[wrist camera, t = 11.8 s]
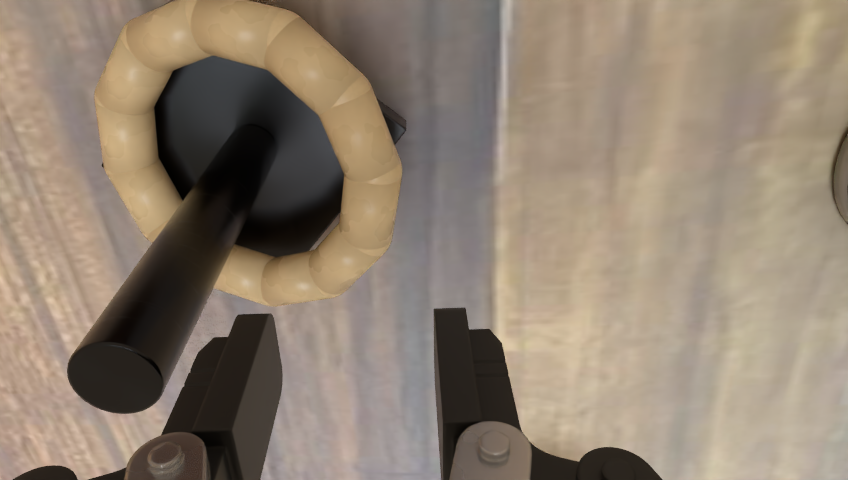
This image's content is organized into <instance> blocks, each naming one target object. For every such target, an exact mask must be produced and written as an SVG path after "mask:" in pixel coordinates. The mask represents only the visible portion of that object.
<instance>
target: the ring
mask: <svg viewBox="0 0 848 480" xmlns="http://www.w3.org/2000/svg"><path fill="white" fill-rule="evenodd" d="M210 56H217V57H221V58H224V59H228V60H232V61H236V62H239V63H243V64H247V65H251V66H254V67H258V68H262V69H266V70H268V71H269V72H270V73H271V74H273V75H274V76H275V77H276V78H277V79H278V80H279V81H280V82H282V83H283V84H284V85H285V86H286V87H287V88H288V89H289V90H290V91H292V92H293V93H294V94H295V95H296V96H297V97H298V98H299V99H300V100H302V101H303V102H304V103H305V104H306V105H307V106H308V107H309V108H311V109H312V110H313V111H314V112H315V113H316V114H317V115H318V116H319V118H320V120H321V122H322V125H323V127H324V129H325V131H326V134H327V136H328V138H329V141H330V143H331V145H332V148H333V150H334V152H335V155H336V157H337V159H338V161H339V164H340V166H341V168H342V171H343V173H344V182H343V193H342V203H341V213H340V223H339V224H338V225H337V226H336V227H335V228H334V229H333V230H332V231H331V232H330V234H329V235H328V236H327V237H326V238H325V239H324V240H323V241H322V242H321V243H320V245H319V246H318V247H317V248H316V249H315V250H311V251H306V252H301V253H296V254H290V255H285V256H280V257H273V256H270V255H267V254H264V253H261V252H257V251H254V250H251V249H248V248H245V247H242V246H238V245H235V244H234V246H233V248H232V250H231V252H230V255H229V257H228V259H227V261H226V263H225V265H224V267H223V269H222V271H221V273H220V275H219V277H218V279H217V281H216V284H215V286H214V288H215V289H218V290H221V291H224V292H227V293H230V294H233V295H236V296H239V297H242V298H245V299H248V300H251V301H254V302H257V303H260V304H263V305H266V306H282V305H289V304H295V303H302V302H309V301H315V300H322V299H328V298H334V297H337V296H339V295H341V294H343V293H344V292H345V291H346V290H347V289H348V288H349V287H350V286H351V285H352V284H353V283H354V282H355V281H356V280H357V279H359V278H360V277H361V276H362V275H363V274H364V273H365V272H366V271H367V270H368V269H369V268H370V267H371V266H372V265H373V264H374V263H375V262H376V261H377V260H378V259H379V258H380V257H381V256H382V255H383V254H384V253H385V252H386V251H387V250H388V248H389V246H390V244H391V241H392V236H393V230H394V224H395V217H396V211H397V204H398V198H399V191H400V185H401V178H402V164H401V160H400V158H399V155H398V153H397V150H396V148H395V145H394V142H393V140H392V137H391V135H390V132H389V130H388V127H387V124H386V122H385V119H384V117H383V114H382V112H381V109H380V107H379V104H378V101H377V99H376V96H375V94H374V91H373V89H372V86H371V84H370V82H369V81H368V79H367V78H366V77H365V76H364V75H363V74H362V73H361V72H360V71H359V70H358V69H357V68H356V67H354V66H353V65H352V64H351V63H350V62H349V61H348V60H347V59H346V58H345V57H344V56H342V55H341V54H340V53H339V52H338V51H337V50H336V49H335V48H334V47H333V46H332V45H331V44H329V43H328V42H327V41H326V40H325V39H324V38H323V37H322V36H321V35H320V34H319V33H317V32H316V31H315V30H314V29H313V28H312V27H311V26H310V25H309V24H308V23H307V22H305V21H304V20H303V19H302V18H301V17H300V16H299V15H297V14H296V13H294V12H292V11H289V10H286V9H282V8H278V7H274V6H270V5H266V4H262V3H258V2H254V1H250V0H175V1H173V2H170V3H168V4H166V5H164V6H161V7H159V8H157V9H155V10H152V11H150V12H148V13H145V14H143V15H141V16H139V17H136V18H134V19H132V20H130V21H129V22H128V23H127V24H126V25H125V26H124V27H123V29H122V31H121V33H120V35H119V37H118V40H117V42H116V44H115V46H114V48H113V51H112V53H111V55H110V57H109V60H108V62H107V64H106V66H105V68H104V71H103V73H102V75H101V77H100V80H99V82H98V84H97V86H96V89H95V93H94V100H95V107H96V114H97V121H98V128H99V136H100V143H101V150H102V157H103V164H104V169H105V171H106V173H107V175H108V177H109V178H110V180H111V182H112V183H113V185H114V187H115V188H116V190H117V192H118V193H119V195H120V197H121V198H122V200H123V202H124V203H125V205H126V207H127V208H128V210H129V212H130V213H131V215H132V217H133V218H134V220H135V222H136V223H137V225H138V227H139V228H140V230H141V232H142V233H143V235H144V236H145V237H146V238H147V239H148V240H149V241H150V242H152V243H153V242H154V240H155V239H156V238H157V236H158V235H159V233H160V232H161V231H162V229H163V228H164V227H165V225H166V224H167V222H168V221H169V220H170V218H171V217H172V215H173V214H174V213H175V211H176V210H177V208H178V207H179V206H180V204H181V203H182V201H183V200H182V199H181V197H180V195H179V193H178V191H177V190H176V188H175V186H174V184H173V182H172V181H171V179H170V177H169V175H168V173H167V172H166V170H165V168H164V166H163V164H162V163H161V161H160V159H159V157H158V147H157V135H156V124H155V112H154V106H155V104H156V102H157V100H158V98H159V97H160V95H161V93H162V91H163V89H164V87H165V85H166V84H167V82H168V80H169V78H170V76H171V74H172V72H173V70H176V69H178V68H181V67H183V66H186V65H189V64H191V63H194V62H197V61H199V60H202V59H205V58H207V57H210Z"/></svg>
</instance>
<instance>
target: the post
mask: <svg viewBox="0 0 848 480" xmlns="http://www.w3.org/2000/svg"><path fill="white" fill-rule="evenodd" d="M376 99H377V98H376ZM377 101H378V104H379V107H380V109H381V112H382V114H383V117H384V119H385V122H386V124H387V127H388V130H389V132H390V135H391V137H392V140H393V142H394V145H395V144H396V143H397V141H398V140H399V139H400V138H401V136H402V135H403V134H404V133H405V131H406V120H405V119H403V118H402V117H401V116H399V115H398V114H397V113H395V112H394V111H393V110H391V109H390V108H389V107H387V106H386V105H385V104H383V103H382V102H381V101H379V100H378V99H377ZM154 112H155V124H156V135H157V147H158V157H159V159H160V161H161V163H162V164H163V166H164V168H165V170H166V172H167V173H168V175H169V177H170V179H171V181H172V182H173V184H174V186H175V188H176V190H177V191H178V193H179V195H180V197H181V199H182V200H183V201H182V203H181V204H180V206H179V207H178V208H177V210H176V211H175V213H174V214H173V215H172V217H171V218H170V220H169V221H168V222H167V224H166V225H165V227H164V228H163V229H162V231H161V232H160V233H159V235H158V236H157V238H156V239H155V240H154V242H153V243H152V245H151V246H150V247H149V249H148V250H147V252H146V253H145V254H144V256H143V257H142V258H141V260H140V261H139V263H138V264H137V265H136V267H135V268H134V270H133V271H132V272H131V274H130V275H129V277H128V278H127V279H126V281H125V282H124V284H123V285H122V286H121V288H120V289H119V290H118V292H117V293H116V295H115V296H114V297H113V299H112V300H111V302H110V303H109V304H108V306H107V307H106V309H105V310H104V311H103V313H102V314H101V315H100V317H99V318H98V320H97V321H96V322H95V324H94V325H93V327H92V328H91V329H90V331H89V332H88V334H87V335H86V336H85V338H84V339H83V341H82V342H81V343H80V345H79V346H78V347H77V349H76V350H75V352H74V353H73V354H72V356H71V358H70V359H69V362H68V368H67V374H68V379H69V382H70V384H71V386H72V388H73V389H74V391H75V392H76V393H77V394H78V395H79V396H80V397H81V398H82V399H83V400H84V401H86V402H87V403H89V404H90V405H92V406H94V407H96V408H99V409H101V410H104V411H108V412H112V413H119V414H129V413H136V412H140V411H143V410H145V409H147V408H149V407H151V406H152V405H153V404H155V403H156V402H157V401H158V400H159V399H160V397H161V395H162V393H163V391H164V389H165V387H166V385H167V383H168V381H169V379H170V377H171V375H172V373H173V371H174V369H175V366H176V364H177V362H178V360H179V358H180V356H181V354H182V352H183V350H184V348H185V346H186V344H187V342H188V340H189V337H190V335H191V333H192V331H193V329H194V327H195V325H196V323H197V321H198V319H199V317H200V315H201V313H202V310H203V308H204V306H205V304H206V302H207V300H208V298H209V296H210V294H211V292H212V290H213V288H214V286H215V284H216V281H217V279H218V277H219V275H220V273H221V271H222V269H223V267H224V265H225V263H226V261H227V259H228V257H229V255H230V252H231V250H232V248H233V246H234V244H235V245H238V246H242V247H245V248H248V249H251V250H254V251H257V252H261V253H264V254H267V255H270V256H273V257H280V256H285V255H290V254H296V253H301V252H306V251H309V250H310V249H311V247H312V246H313V245H314V244H315V242H316V241H317V240H318V239H319V238H320V236H321V235H322V234H323V233H324V231H325V230H326V229H327V228H328V226H329V225H330V224H331V223H332V222H333V220H334V219H335V218H336V217H337V215H338V214H339V213H340V212H341V203H342V193H343V182H344V173H343V171H342V168H341V166H340V164H339V161H338V159H337V157H336V155H335V152H334V150H333V148H332V145H331V143H330V141H329V138H328V136H327V134H326V131H325V129H324V127H323V125H322V122H321V120H320V118H319V116H318V115H317V114H316V113H315V112H314V111H313V110H312V109H311V108H309V107H308V106H307V105H306V104H305V103H304V102H303V101H302V100H300V99H299V98H298V97H297V96H296V95H295V94H294V93H293V92H292V91H290V90H289V89H288V88H287V87H286V86H285V85H284V84H283V83H282V82H280V81H279V80H278V79H277V78H276V77H275V76H274V75H273V74H271V73H270V72H269V71H268V70H266V69H262V68H258V67H254V66H251V65H247V64H243V63H239V62H236V61H232V60H228V59H224V58H221V57H217V56H210V57H207V58H205V59H202V60H199V61H197V62H194V63H191V64H189V65H186V66H183V67H181V68H178V69H176V70H173V72H172V74H171V76H170V78H169V80H168V82H167V84H166V85H165V87H164V89H163V91H162V93H161V95H160V97H159V98H158V100H157V102H156V104H155V106H154ZM102 167H104V164H103V163H102Z"/></svg>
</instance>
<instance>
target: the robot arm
mask: <svg viewBox="0 0 848 480" xmlns="http://www.w3.org/2000/svg"><path fill="white" fill-rule="evenodd" d="M834 195H835V200H836V204H837V207H838V209H839V211H840V213H841V215H842V217H843V218H844V220H845V221H846V222H847V224H848V134H847V136H846V138H845V140H844V142H843V144H842V147H841V150H840V152H839V155H838V158H837V162H836V166H835V172H834ZM434 369H435V391H436V406H437V421H438V437H439V452H440V467H441V480H662V479H661V478H660V476H659V475H658V474H657V473H656V472H655V471H654V470H653V469H652V468H651V466H650V465H649V464H648V463H646V462H645V461H644V460H643V459H642V458H640V457H639V456H637V455H635V454H633V453H631V452H629V451H626V450H623V449H619V448H613V447H604V448H598V449H594V450H592V451H590V452H588V453H587V454H585V455H584V456H583V457H582V458H581V460H580V462H577V461H573V460H568V459H564V458H560V457H556V456H553V455H550V454H547V453H545V452H543V451H541V450H540V449H538V448H536V447H535V446H534V445H532V444H531V443H530V442H529V440H528V439H527V437H526V436H525V435H524V434H523V432H522V430H521V428H520V424H519V420H518V415H517V411H516V406H515V402H514V397H513V393H512V388H511V383H510V379H509V376H508V370H507V365H506V363H505V356H504V352H503V347H502V343H501V342H500V341H499V340H498V338H497V337H496V336H495V335H494V334H493V333H492V332H491V330H490V329H474V330H469V328H468V321H467V314H466V309H465V308H442V309H434ZM184 384H185V386H184V387H183V388H182V390H181V392H180V394H179V397H178V399H177V401H176V403H175V406H174V408H173V410H172V412H171V414H170V417H169V419H168V421H167V423H166V426H165V428H164V430H163V432H162V435H161V436H159V437H156V438H154V439H152V440H150V441H148V442H147V443H145V444H144V445H143V446H141V447H140V448H139V449H138V450H137V451H136V452H135V453H134V454H133V456H132V457H131V458H130V460H129V462H128V464H127V467H126V468H124V469H122V470H119V471H116V472H113V473H110V474H106V475H103V476H99V477H96V478H92V479H89V480H260V478H261V473H262V469H263V465H264V461H265V457H266V453H267V449H268V445H269V441H270V437H271V433H272V428H273V424H274V420H275V416H276V412H277V408H278V404H279V400H280V396H281V390H282V365H281V359H280V352H279V346H278V340H277V334H276V328H275V322H274V318H273V315H272V314H242V315H237V317H236V319H235V321H234V324H233V326H232V329H231V332H230V334H229V337H215V338H213V339H212V340H211V341H210V342H209V343H208V344H207V345H206V346H205V347H204V348H203V349H202V350H200V351H199V352H198V354H197V356H196V359H195V361H194V363H193V365H192V368H191V373H189V374H188V376H187V379H186V381H185V383H184ZM13 480H78V479H77V477H76V475H75V474H74V472H73V471H71V470H70V469H68V468H66V467H63V466H45V467H40V468H37V469H33V470H31V471H28V472H26V473H24V474H22V475H20V476H18V477H16V478H15V479H13Z"/></svg>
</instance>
